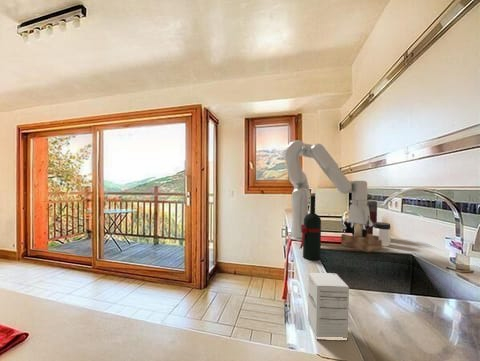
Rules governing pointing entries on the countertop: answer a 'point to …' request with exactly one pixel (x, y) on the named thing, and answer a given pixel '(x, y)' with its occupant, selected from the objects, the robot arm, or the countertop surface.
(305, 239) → the wine bottle
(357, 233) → the roll
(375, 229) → the jar
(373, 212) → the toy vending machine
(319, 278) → the supplement box
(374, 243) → the holder
